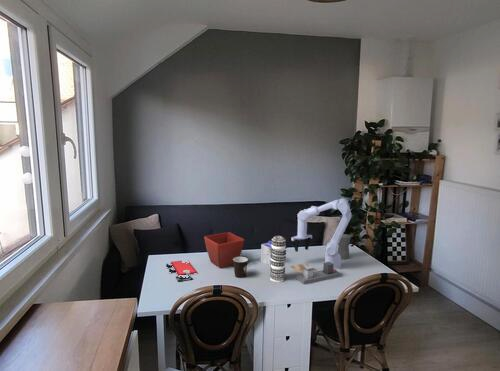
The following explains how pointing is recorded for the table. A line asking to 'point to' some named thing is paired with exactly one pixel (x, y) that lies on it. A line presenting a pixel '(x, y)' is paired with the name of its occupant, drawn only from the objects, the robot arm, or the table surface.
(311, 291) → the table surface
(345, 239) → the coffeepot
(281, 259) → the decorative candle
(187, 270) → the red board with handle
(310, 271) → the grey plug
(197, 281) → the table surface
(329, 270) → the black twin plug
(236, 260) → the coffee mug
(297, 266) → the cork mat
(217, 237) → the plant pot
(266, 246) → the ink cartridge box
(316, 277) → the power strip
